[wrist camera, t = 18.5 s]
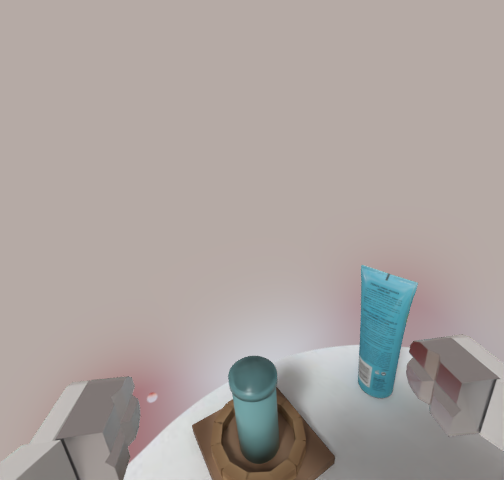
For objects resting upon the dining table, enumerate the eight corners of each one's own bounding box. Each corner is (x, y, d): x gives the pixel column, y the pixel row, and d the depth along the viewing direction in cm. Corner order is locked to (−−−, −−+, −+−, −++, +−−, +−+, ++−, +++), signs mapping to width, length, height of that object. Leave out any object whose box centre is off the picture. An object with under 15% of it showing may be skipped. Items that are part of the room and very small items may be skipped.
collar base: (271, 386, 43) (271, 373, 42) (334, 463, 32) (335, 447, 31) (193, 431, 37) (190, 416, 36) (237, 543, 26) (235, 526, 25)
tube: (405, 389, 41) (424, 275, 35) (393, 410, 38) (411, 289, 32) (358, 363, 46) (367, 260, 40) (344, 380, 43) (351, 271, 37)
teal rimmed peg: (265, 413, 38) (260, 349, 34) (289, 448, 33) (286, 379, 29) (230, 435, 35) (220, 368, 31) (251, 476, 31) (242, 404, 27)
